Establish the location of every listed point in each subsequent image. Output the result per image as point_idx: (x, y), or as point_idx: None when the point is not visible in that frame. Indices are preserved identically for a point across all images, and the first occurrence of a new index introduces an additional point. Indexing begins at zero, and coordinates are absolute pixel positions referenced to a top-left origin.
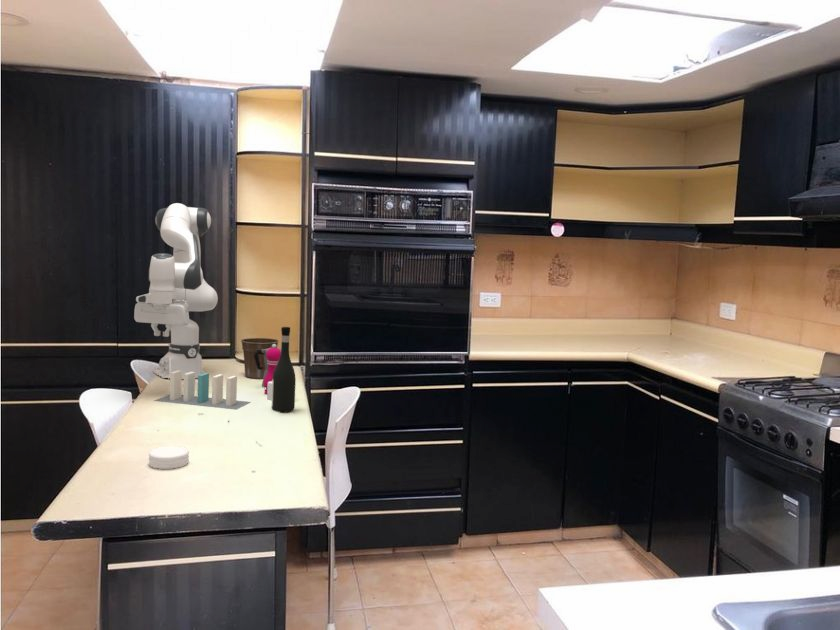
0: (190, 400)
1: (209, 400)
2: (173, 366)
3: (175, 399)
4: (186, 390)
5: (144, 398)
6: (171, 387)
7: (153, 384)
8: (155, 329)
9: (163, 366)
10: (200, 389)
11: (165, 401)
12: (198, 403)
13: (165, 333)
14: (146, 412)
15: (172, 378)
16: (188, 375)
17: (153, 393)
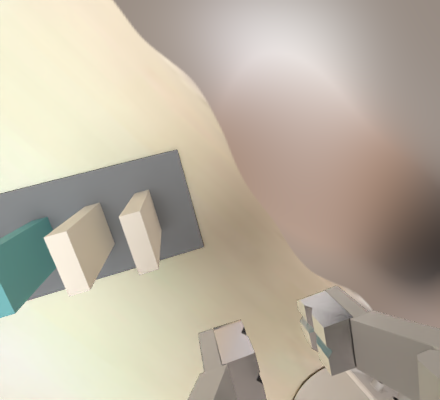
0: None
1: None
2: (357, 396)
3: None
4: (76, 215)
5: (231, 164)
6: (139, 199)
7: None
8: (372, 337)
9: (398, 393)
10: (9, 234)
11: (140, 164)
12: (34, 211)
13: (214, 351)
14: (79, 26)
15: (130, 208)
16: (48, 240)
17: (257, 224)
